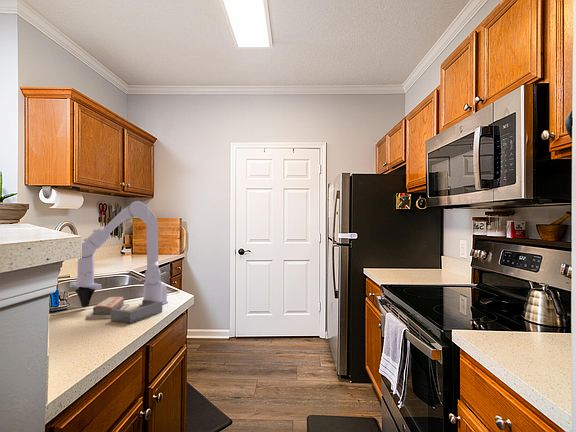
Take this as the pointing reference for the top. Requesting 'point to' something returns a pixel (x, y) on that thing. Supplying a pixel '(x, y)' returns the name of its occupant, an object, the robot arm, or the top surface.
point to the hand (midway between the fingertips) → (85, 306)
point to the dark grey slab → (137, 312)
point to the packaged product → (107, 308)
